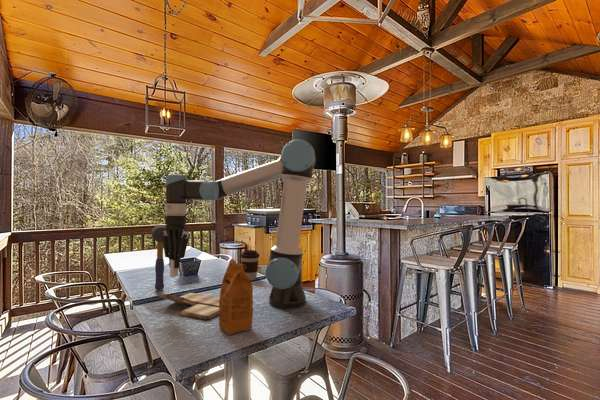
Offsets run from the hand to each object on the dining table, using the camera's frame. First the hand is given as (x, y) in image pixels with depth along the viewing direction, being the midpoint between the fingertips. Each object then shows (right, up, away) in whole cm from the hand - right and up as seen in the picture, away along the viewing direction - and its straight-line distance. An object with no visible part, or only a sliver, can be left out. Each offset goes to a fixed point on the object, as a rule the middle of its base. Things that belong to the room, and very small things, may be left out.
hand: (174, 276), depth 119 cm
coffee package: (+27, -13, -16) cm, 34 cm away
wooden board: (+10, -13, +8) cm, 18 cm away
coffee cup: (+21, -13, +48) cm, 54 cm away
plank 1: (0, -10, +2) cm, 10 cm away
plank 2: (+12, -13, -4) cm, 18 cm away
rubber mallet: (-17, -13, +25) cm, 33 cm away
